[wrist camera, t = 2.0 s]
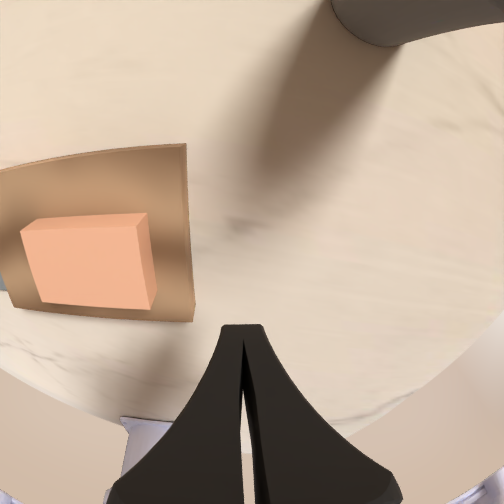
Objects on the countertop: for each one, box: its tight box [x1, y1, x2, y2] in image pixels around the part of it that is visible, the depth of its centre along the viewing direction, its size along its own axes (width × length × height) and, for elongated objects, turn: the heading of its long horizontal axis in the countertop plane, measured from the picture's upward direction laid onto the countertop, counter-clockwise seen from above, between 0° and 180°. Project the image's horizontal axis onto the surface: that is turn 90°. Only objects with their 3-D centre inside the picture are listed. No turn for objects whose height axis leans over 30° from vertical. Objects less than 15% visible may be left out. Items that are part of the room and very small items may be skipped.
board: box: [0, 143, 196, 322], centre depth 16 cm, size 11×16×2 cm
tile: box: [20, 213, 157, 310], centre depth 15 cm, size 8×5×2 cm, turn 89°
